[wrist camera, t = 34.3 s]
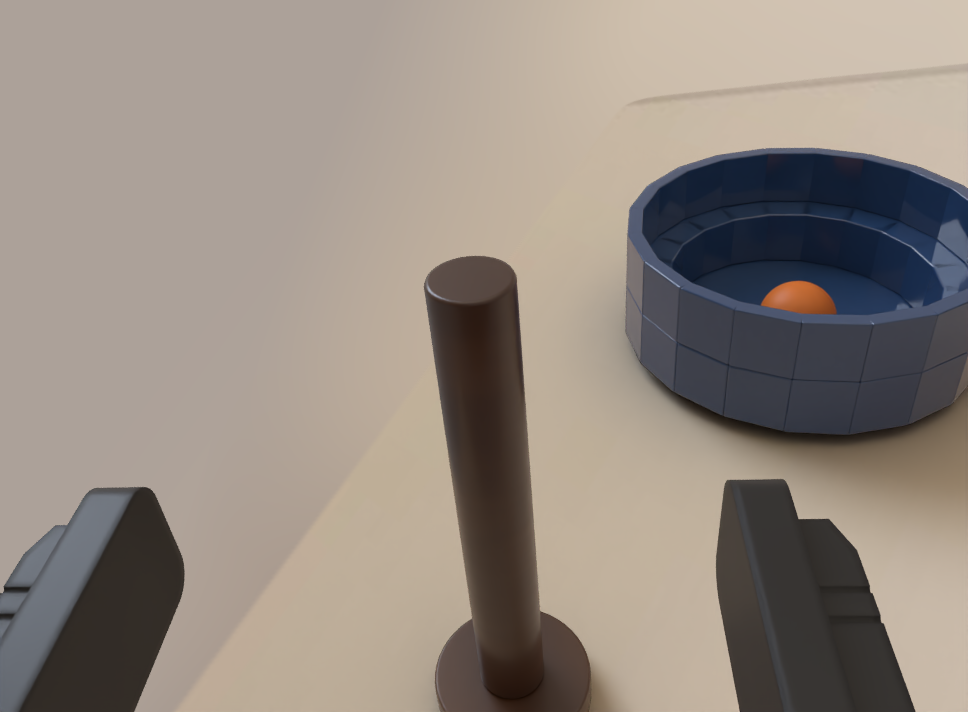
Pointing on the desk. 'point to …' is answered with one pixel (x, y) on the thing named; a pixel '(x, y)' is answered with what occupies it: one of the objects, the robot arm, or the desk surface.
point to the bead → (800, 298)
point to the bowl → (812, 258)
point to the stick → (494, 504)
